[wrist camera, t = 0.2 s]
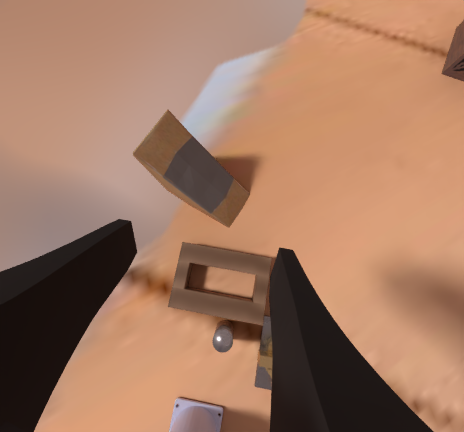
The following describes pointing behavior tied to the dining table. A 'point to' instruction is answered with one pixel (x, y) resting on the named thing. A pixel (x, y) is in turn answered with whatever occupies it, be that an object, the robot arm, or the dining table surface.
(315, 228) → the dining table surface
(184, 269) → the slot block
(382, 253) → the dining table surface
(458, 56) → the tissue box cover
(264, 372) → the nut base
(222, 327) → the pin
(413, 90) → the dining table surface
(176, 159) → the sandwich container
